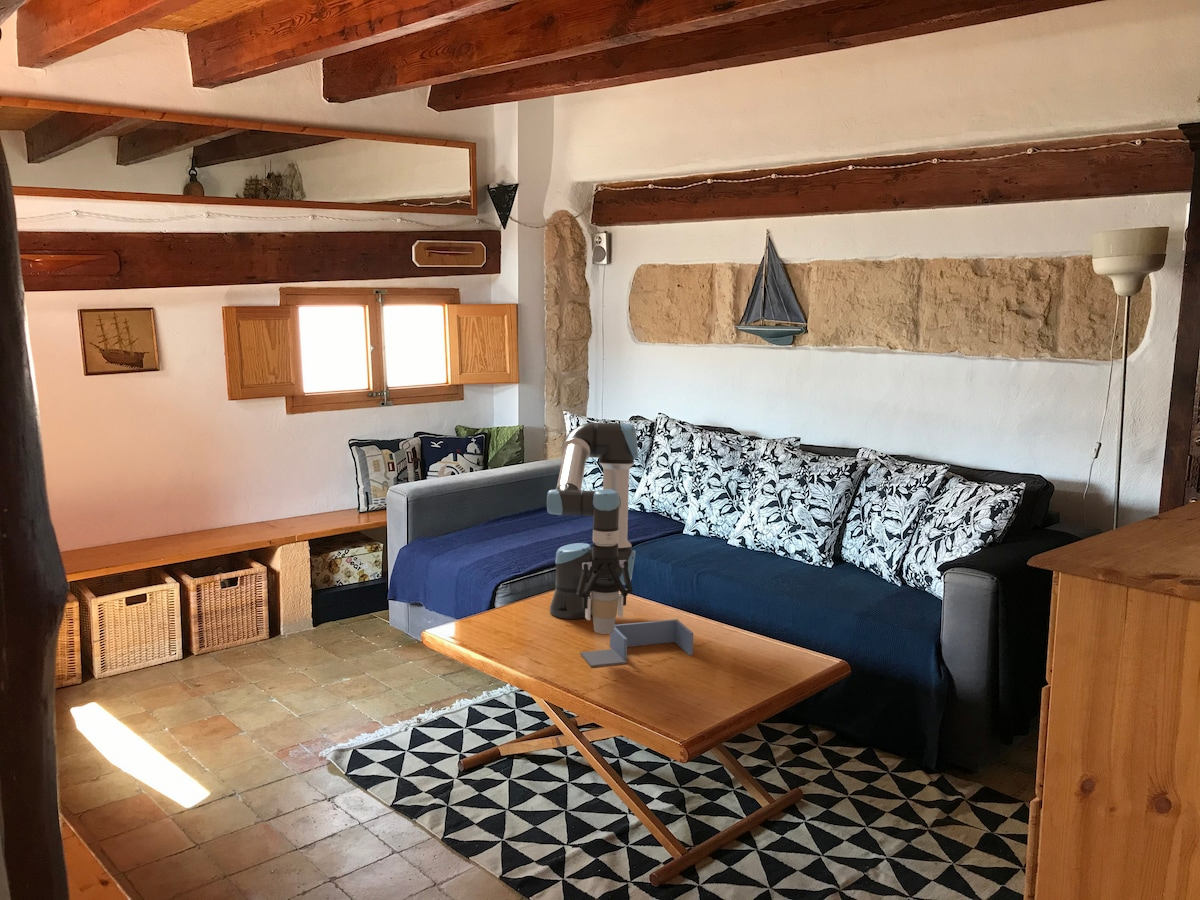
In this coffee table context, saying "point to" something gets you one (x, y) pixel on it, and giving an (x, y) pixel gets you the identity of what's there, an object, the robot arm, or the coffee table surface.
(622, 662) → the coaster
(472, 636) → the coffee table surface
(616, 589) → the coffee cup
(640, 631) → the grey u-shaped wall
